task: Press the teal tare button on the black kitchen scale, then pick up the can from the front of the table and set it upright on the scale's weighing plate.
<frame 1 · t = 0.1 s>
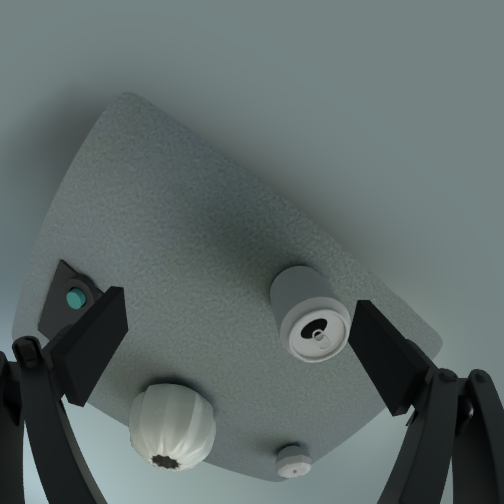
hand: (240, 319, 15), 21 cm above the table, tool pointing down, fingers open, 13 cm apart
vase: (177, 400, 42), on the table
apple: (290, 449, 48), on the table
scale: (72, 317, 37), on the table
tare button: (76, 298, 33), point 3 cm above the table, slide at 0.1 cm
can: (296, 289, 37), on the table
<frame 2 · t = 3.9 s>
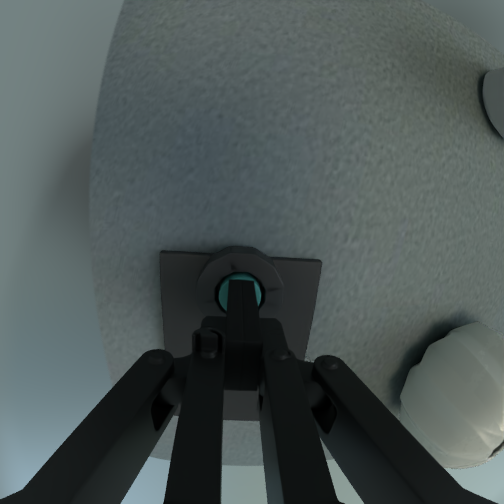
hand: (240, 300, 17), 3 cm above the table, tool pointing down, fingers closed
vase: (438, 363, 24), on the table
scale: (235, 352, 21), on the table
tare button: (239, 292, 18), point 2 cm above the table, slide at -0.8 cm, touching gripper
can: (497, 106, 16), on the table
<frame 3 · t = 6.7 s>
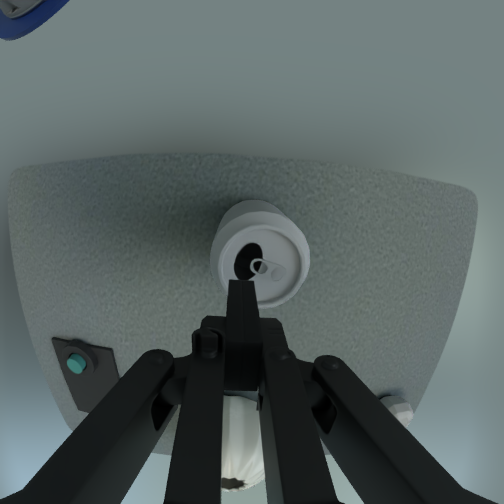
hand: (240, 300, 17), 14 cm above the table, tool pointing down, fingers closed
vase: (228, 412, 38), on the table
apple: (383, 402, 40), on the table
scale: (92, 383, 36), on the table
tare button: (76, 363, 32), point 3 cm above the table, slide at 0.1 cm
can: (253, 232, 31), on the table
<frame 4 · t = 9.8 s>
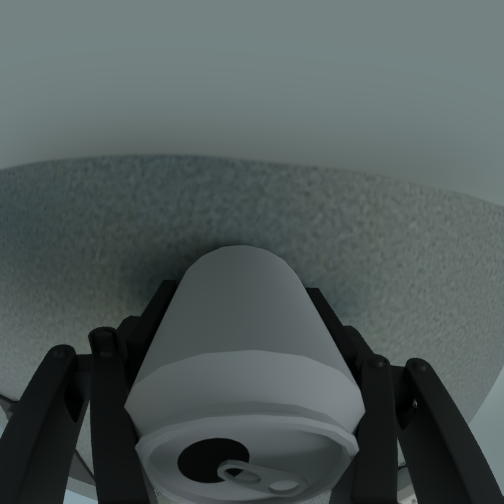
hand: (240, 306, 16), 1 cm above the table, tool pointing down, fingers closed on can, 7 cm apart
vase: (211, 492, 24), on the table
apple: (400, 471, 26), on the table
scale: (48, 445, 22), on the table
can: (240, 300, 17), on the table, touching gripper
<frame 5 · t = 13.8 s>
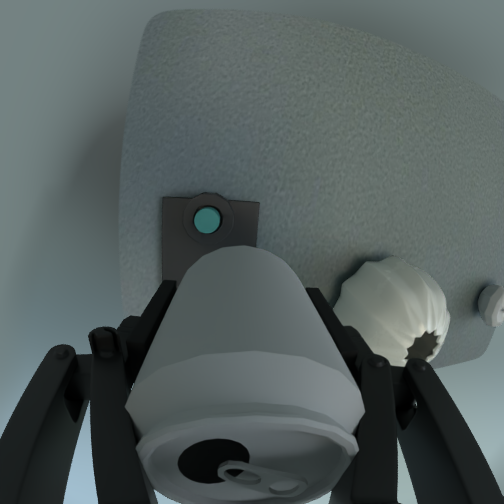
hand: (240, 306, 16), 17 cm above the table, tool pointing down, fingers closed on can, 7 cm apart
vase: (371, 296, 36), on the table
apple: (483, 296, 38), on the table
scale: (207, 266, 33), on the table
tare button: (207, 219, 29), point 3 cm above the table, slide at 0.1 cm
can: (240, 300, 17), point 16 cm above the table, touching gripper
when the fingers open (3 cm above the table, at t = 17.7 s): can stays where it is, resting on scale.
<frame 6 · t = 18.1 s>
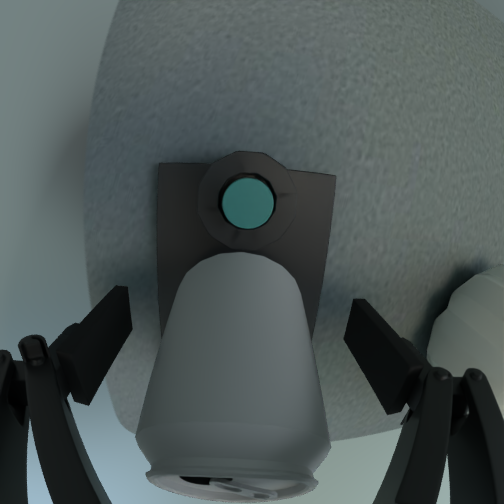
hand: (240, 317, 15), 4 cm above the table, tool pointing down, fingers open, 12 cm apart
vase: (461, 319, 21), on the table
scale: (239, 288, 19), on the table
tare button: (247, 202, 15), point 3 cm above the table, slide at 0.1 cm
can: (239, 295, 18), point 1 cm above the table, touching scale
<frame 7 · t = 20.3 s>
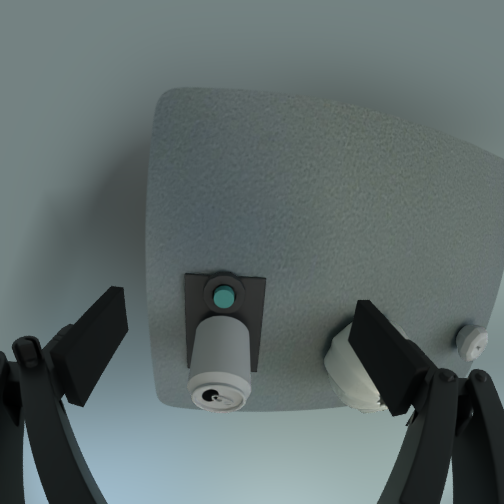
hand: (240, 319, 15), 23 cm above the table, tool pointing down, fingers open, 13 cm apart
vase: (357, 343, 43), on the table
apple: (461, 333, 45), on the table
scale: (223, 326, 40), on the table
tare button: (223, 296, 36), point 3 cm above the table, slide at 0.1 cm
can: (222, 330, 39), point 1 cm above the table, touching scale
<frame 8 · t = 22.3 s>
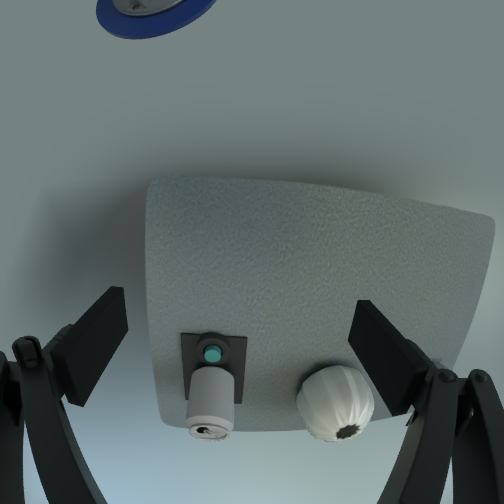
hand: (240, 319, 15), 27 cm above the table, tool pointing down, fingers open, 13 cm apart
vase: (327, 382, 50), on the table
scale: (213, 371, 47), on the table
tare button: (212, 353, 43), point 3 cm above the table, slide at 0.1 cm
can: (213, 375, 46), point 1 cm above the table, touching scale
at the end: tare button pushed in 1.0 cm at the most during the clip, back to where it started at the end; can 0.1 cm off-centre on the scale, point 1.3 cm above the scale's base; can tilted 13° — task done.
